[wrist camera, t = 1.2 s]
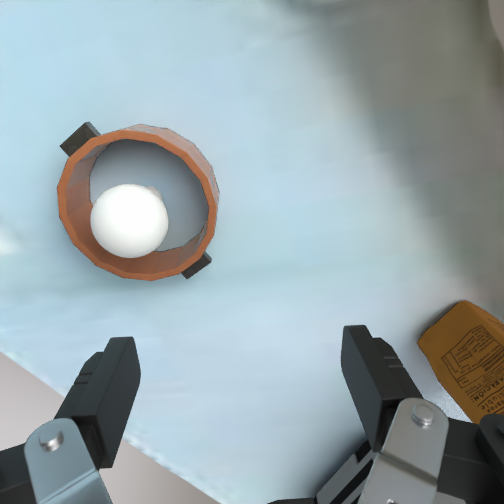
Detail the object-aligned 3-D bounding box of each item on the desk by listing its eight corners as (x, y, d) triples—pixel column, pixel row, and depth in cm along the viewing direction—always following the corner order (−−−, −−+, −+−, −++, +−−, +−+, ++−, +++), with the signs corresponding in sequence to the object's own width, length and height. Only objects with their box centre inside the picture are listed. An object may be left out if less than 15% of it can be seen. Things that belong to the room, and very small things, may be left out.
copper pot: (43, 173, 35) (11, 186, 30) (144, 81, 32) (128, 79, 27) (157, 286, 41) (146, 312, 36) (252, 217, 38) (254, 235, 33)
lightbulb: (109, 194, 36) (60, 232, 26) (149, 153, 35) (113, 177, 25) (154, 234, 38) (124, 285, 28) (193, 197, 37) (177, 236, 27)
